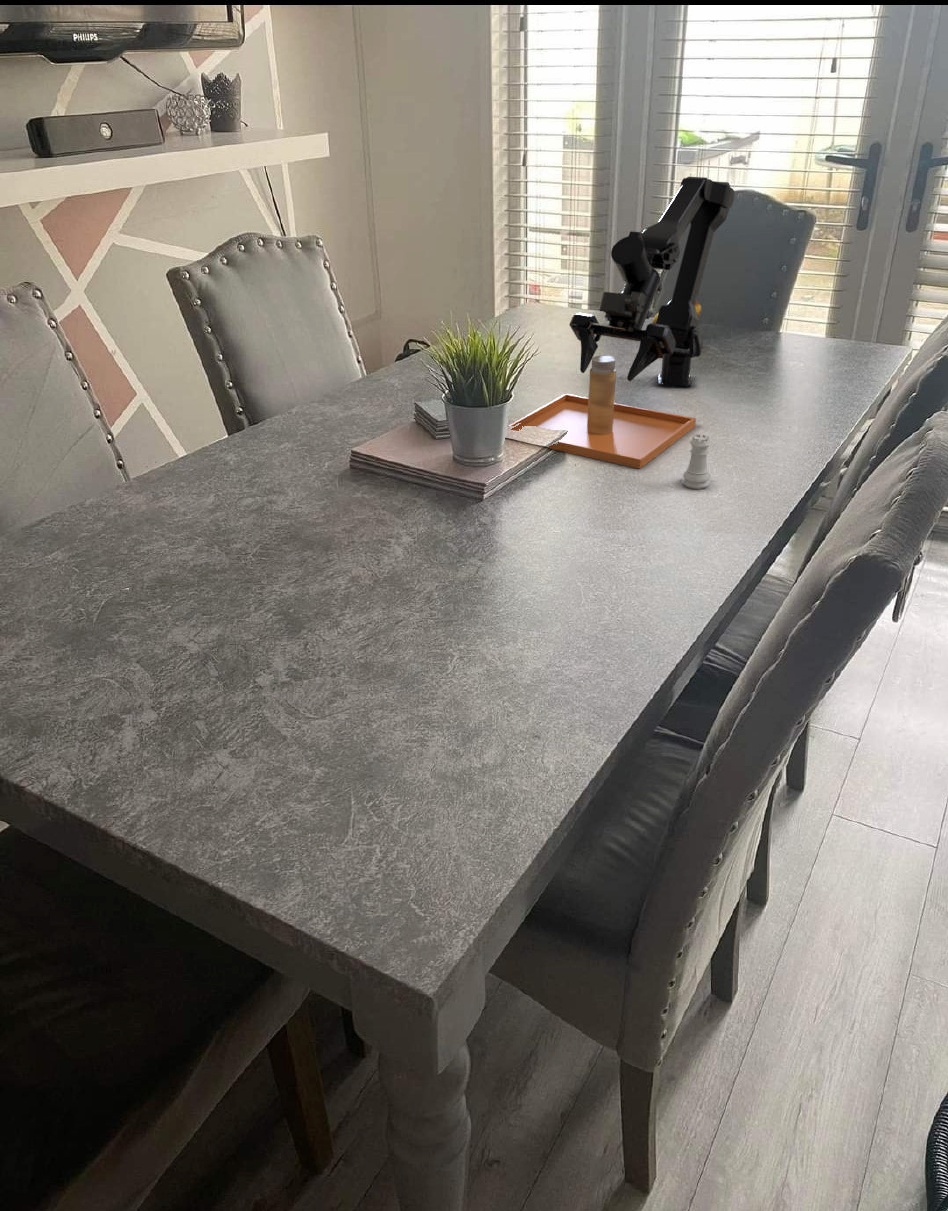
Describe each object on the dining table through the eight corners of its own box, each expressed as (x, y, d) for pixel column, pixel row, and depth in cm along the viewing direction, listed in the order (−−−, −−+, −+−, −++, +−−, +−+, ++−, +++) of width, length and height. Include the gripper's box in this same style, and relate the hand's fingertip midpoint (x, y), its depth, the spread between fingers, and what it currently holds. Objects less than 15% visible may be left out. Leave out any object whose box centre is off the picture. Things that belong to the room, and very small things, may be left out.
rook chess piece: (708, 478, 155) (713, 431, 151) (711, 490, 151) (717, 442, 147) (680, 478, 156) (685, 431, 151) (682, 489, 152) (687, 441, 148)
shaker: (601, 423, 177) (605, 353, 170) (617, 431, 173) (622, 359, 167) (581, 428, 174) (584, 357, 168) (598, 436, 171) (601, 364, 164)
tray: (564, 401, 189) (565, 393, 188) (695, 426, 176) (696, 418, 175) (501, 437, 172) (501, 429, 172) (640, 468, 159) (640, 459, 158)
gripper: (576, 266, 169) (543, 344, 167) (675, 277, 160) (641, 360, 158) (595, 302, 179) (564, 376, 177) (689, 314, 170) (658, 393, 168)
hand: (604, 375), depth 170 cm, fingers open, 9 cm apart
